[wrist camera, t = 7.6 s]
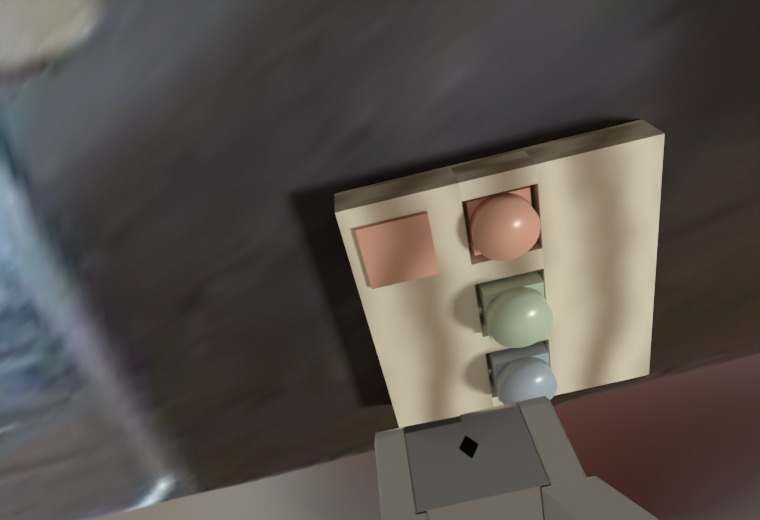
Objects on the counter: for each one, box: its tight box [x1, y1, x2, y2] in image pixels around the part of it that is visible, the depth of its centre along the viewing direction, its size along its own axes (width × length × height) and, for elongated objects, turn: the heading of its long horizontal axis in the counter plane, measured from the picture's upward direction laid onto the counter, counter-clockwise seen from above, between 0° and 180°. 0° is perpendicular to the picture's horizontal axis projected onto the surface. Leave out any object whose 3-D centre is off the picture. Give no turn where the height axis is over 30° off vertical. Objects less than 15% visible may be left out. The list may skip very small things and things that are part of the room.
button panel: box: [334, 119, 665, 428], centre depth 42 cm, size 22×22×3 cm
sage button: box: [478, 270, 553, 348], centre depth 41 cm, size 5×5×3 cm
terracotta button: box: [462, 186, 541, 261], centre depth 38 cm, size 5×5×3 cm
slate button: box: [488, 341, 557, 404], centre depth 44 cm, size 5×5×3 cm
